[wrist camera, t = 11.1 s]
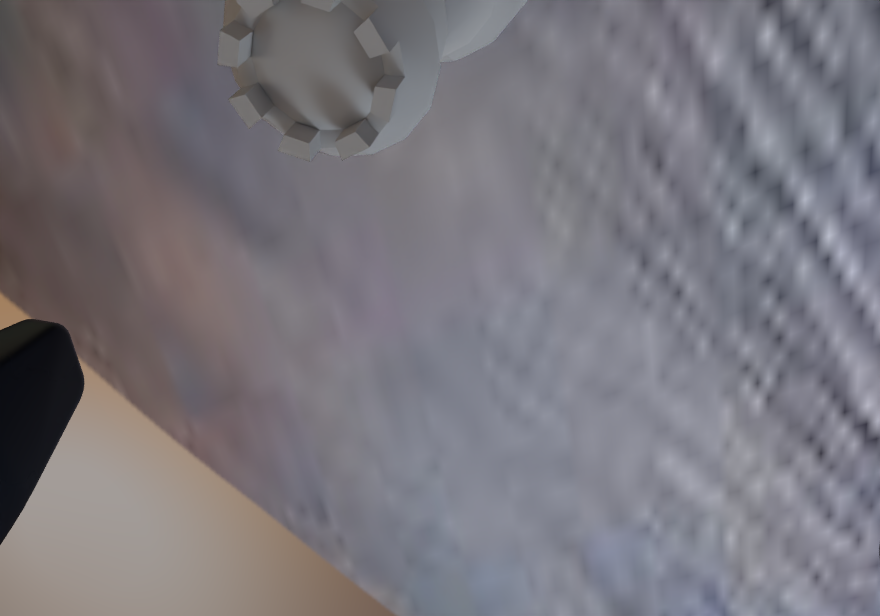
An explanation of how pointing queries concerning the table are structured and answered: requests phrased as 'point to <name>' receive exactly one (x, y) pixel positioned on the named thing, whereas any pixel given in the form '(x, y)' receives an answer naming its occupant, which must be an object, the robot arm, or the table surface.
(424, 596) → the table surface
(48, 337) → the robot arm
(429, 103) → the rook chess piece
